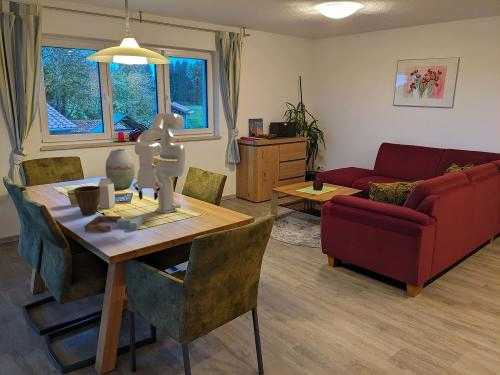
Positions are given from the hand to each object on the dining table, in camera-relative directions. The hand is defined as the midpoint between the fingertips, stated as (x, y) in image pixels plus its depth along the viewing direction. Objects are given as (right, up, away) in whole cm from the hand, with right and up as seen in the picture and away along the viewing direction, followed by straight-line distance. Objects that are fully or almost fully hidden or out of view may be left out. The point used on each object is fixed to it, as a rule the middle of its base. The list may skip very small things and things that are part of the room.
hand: (148, 199), depth 215 cm
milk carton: (-37, -7, +42) cm, 56 cm away
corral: (-26, -15, +4) cm, 30 cm away
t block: (-12, -15, +4) cm, 20 cm away
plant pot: (-43, -10, +26) cm, 51 cm away
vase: (-46, +6, +95) cm, 105 cm away
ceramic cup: (-57, -6, +45) cm, 73 cm away
